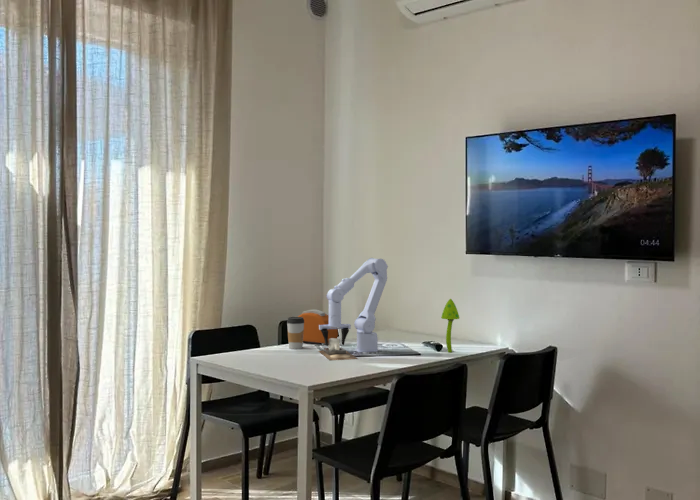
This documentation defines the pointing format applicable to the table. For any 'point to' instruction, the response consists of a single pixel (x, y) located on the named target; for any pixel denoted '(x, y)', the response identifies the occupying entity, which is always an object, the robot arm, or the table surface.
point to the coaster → (340, 356)
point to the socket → (341, 351)
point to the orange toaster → (316, 326)
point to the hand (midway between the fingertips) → (334, 344)
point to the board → (337, 359)
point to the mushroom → (449, 320)
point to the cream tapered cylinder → (334, 344)
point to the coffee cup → (295, 332)
